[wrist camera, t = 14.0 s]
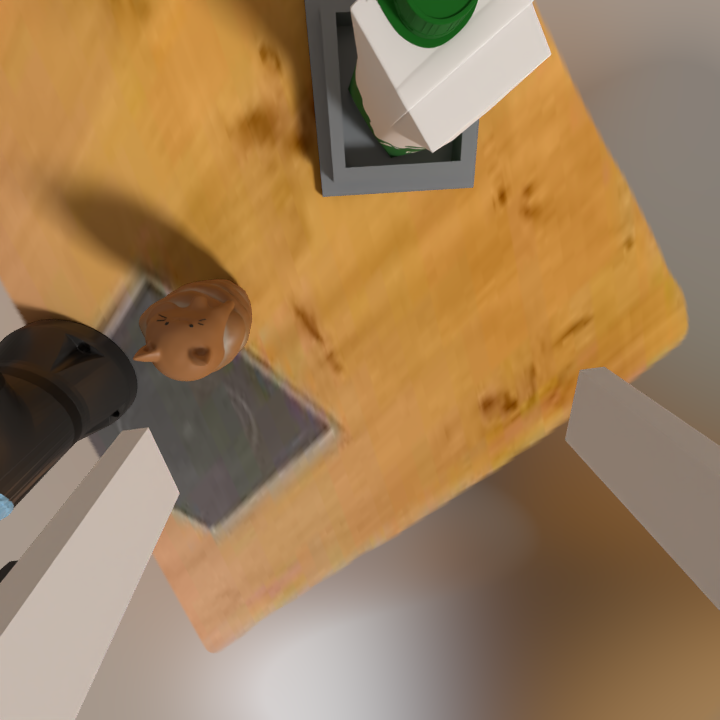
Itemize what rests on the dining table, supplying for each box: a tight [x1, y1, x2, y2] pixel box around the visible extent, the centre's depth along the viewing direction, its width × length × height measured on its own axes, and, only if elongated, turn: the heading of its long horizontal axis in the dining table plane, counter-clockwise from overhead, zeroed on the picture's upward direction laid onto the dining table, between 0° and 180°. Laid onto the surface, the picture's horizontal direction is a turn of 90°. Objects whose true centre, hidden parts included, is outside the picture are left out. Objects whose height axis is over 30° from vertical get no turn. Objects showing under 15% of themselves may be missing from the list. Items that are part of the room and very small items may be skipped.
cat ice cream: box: [133, 279, 252, 381], centre depth 35 cm, size 9×8×18 cm
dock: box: [305, 0, 479, 197], centre depth 33 cm, size 16×16×4 cm
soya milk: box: [348, 0, 551, 158], centre depth 25 cm, size 9×9×20 cm
